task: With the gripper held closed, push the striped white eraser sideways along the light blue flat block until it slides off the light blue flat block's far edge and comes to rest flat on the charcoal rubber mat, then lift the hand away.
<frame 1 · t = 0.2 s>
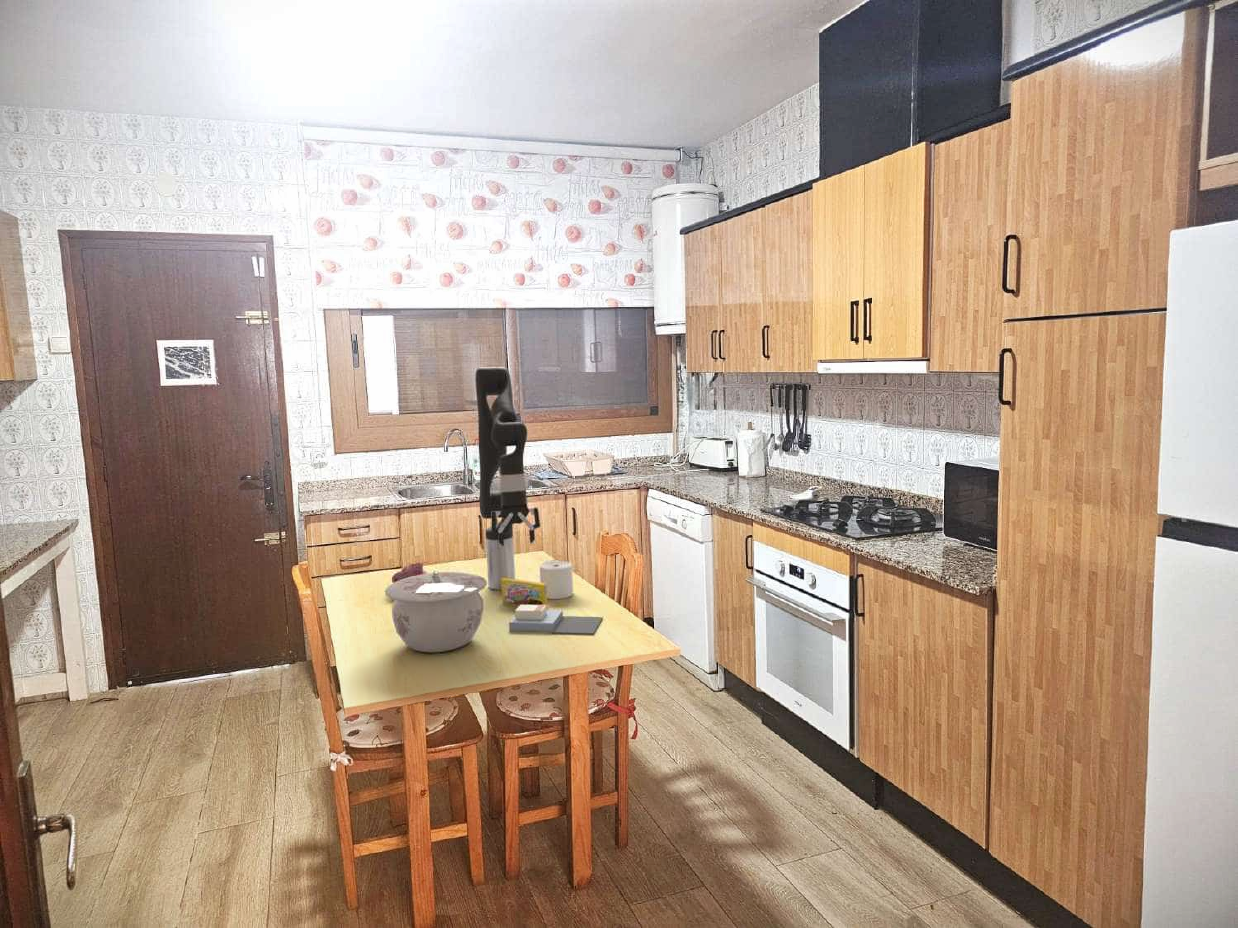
hand: (517, 544, 240), 23 cm above the table, tool pointing down, fingers open, 8 cm apart
mat: (578, 625, 235), on the table
striped white eraser: (531, 615, 237), point 2 cm above the table, touching light blue flat block
flower: (414, 593, 274), on the table
chamber pot: (440, 644, 223), on the table
candy box: (524, 606, 255), on the table
light blue flat block: (536, 624, 237), on the table
toilet tissue: (555, 594, 267), on the table
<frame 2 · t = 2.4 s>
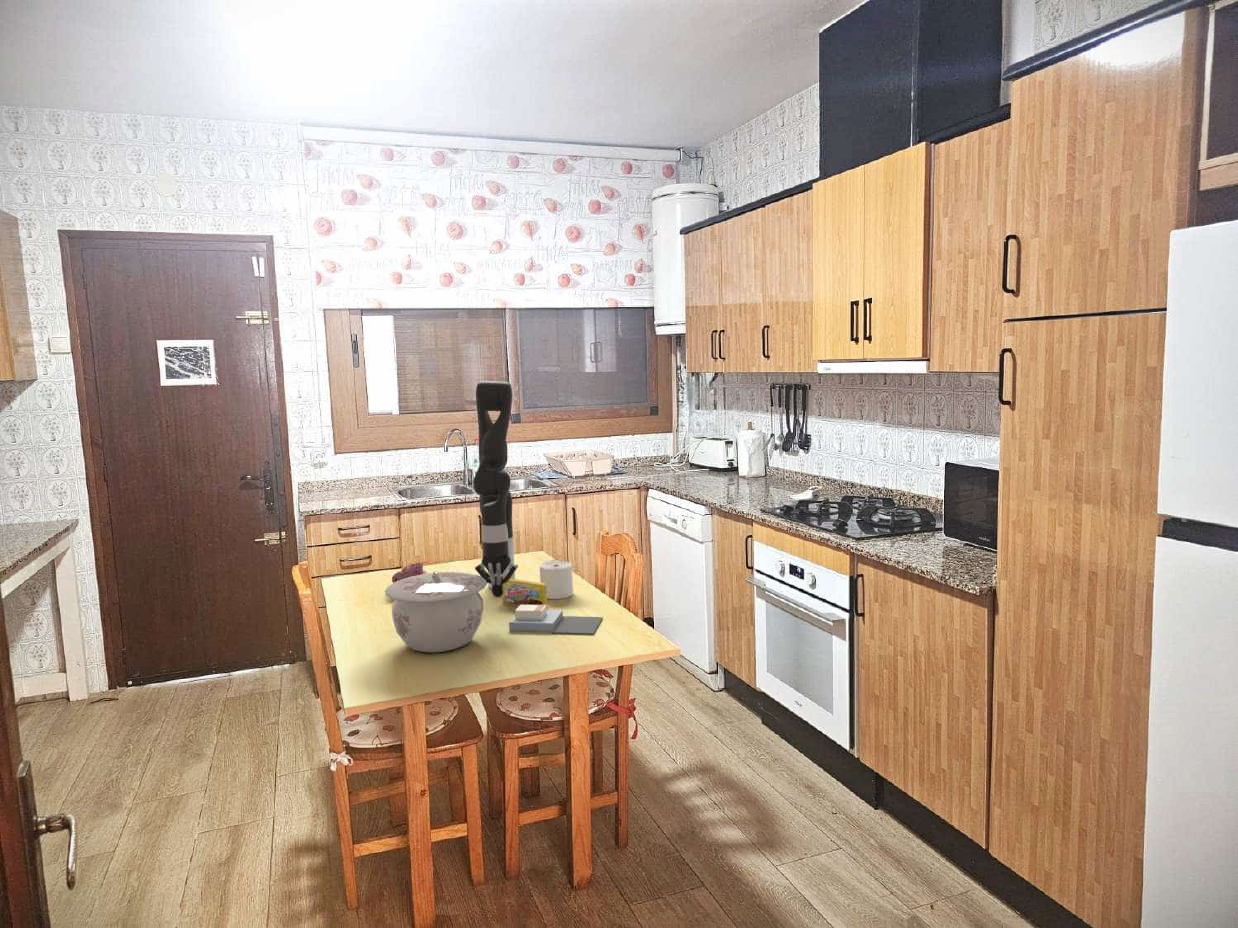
hand: (498, 596, 238), 8 cm above the table, tool pointing down, fingers closed
nothing on the table moved.
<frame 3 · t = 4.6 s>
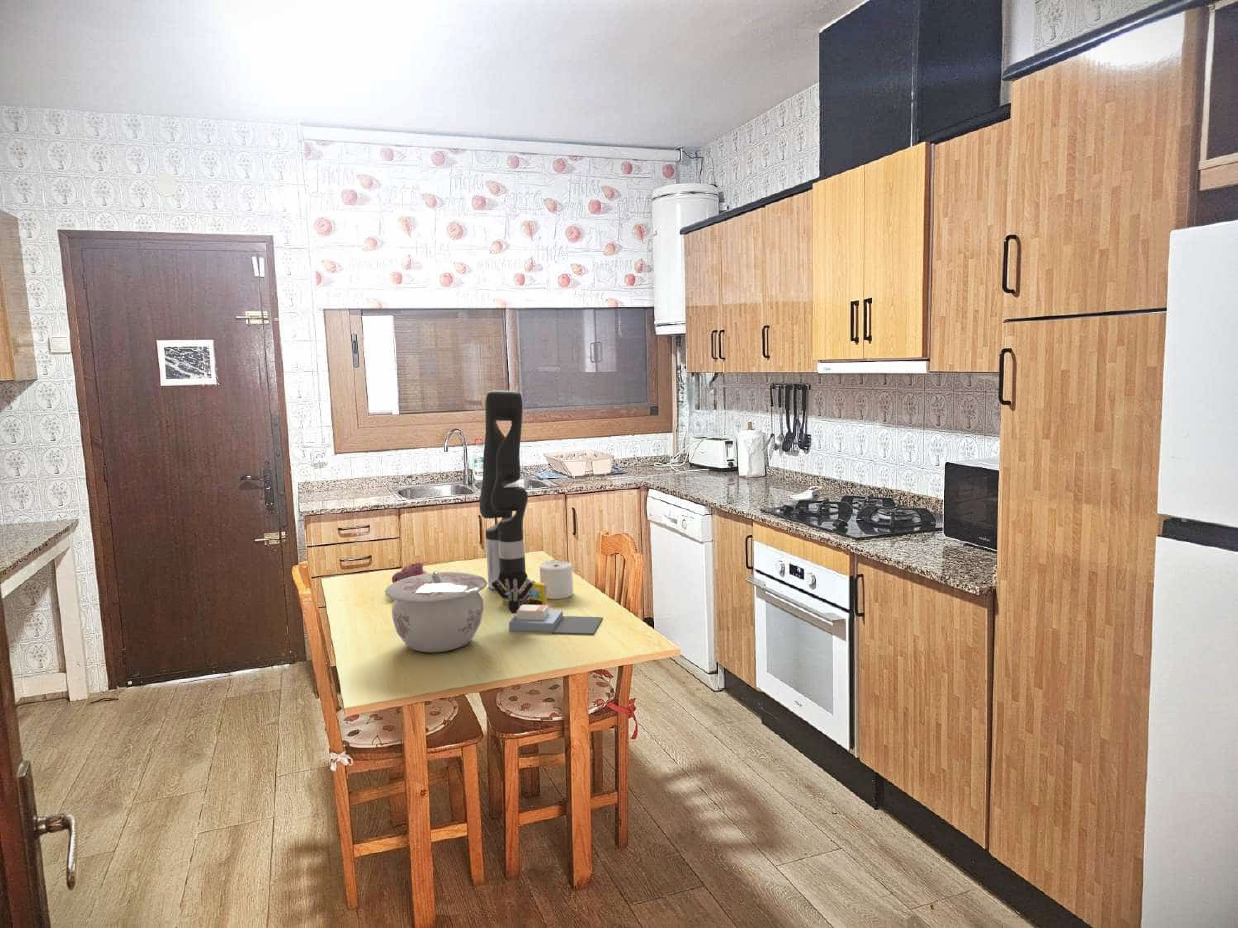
hand: (514, 612, 238), 4 cm above the table, tool pointing down, fingers closed
striped white eraser: (533, 615, 237), point 3 cm above the table, touching gripper
everything else where it was.
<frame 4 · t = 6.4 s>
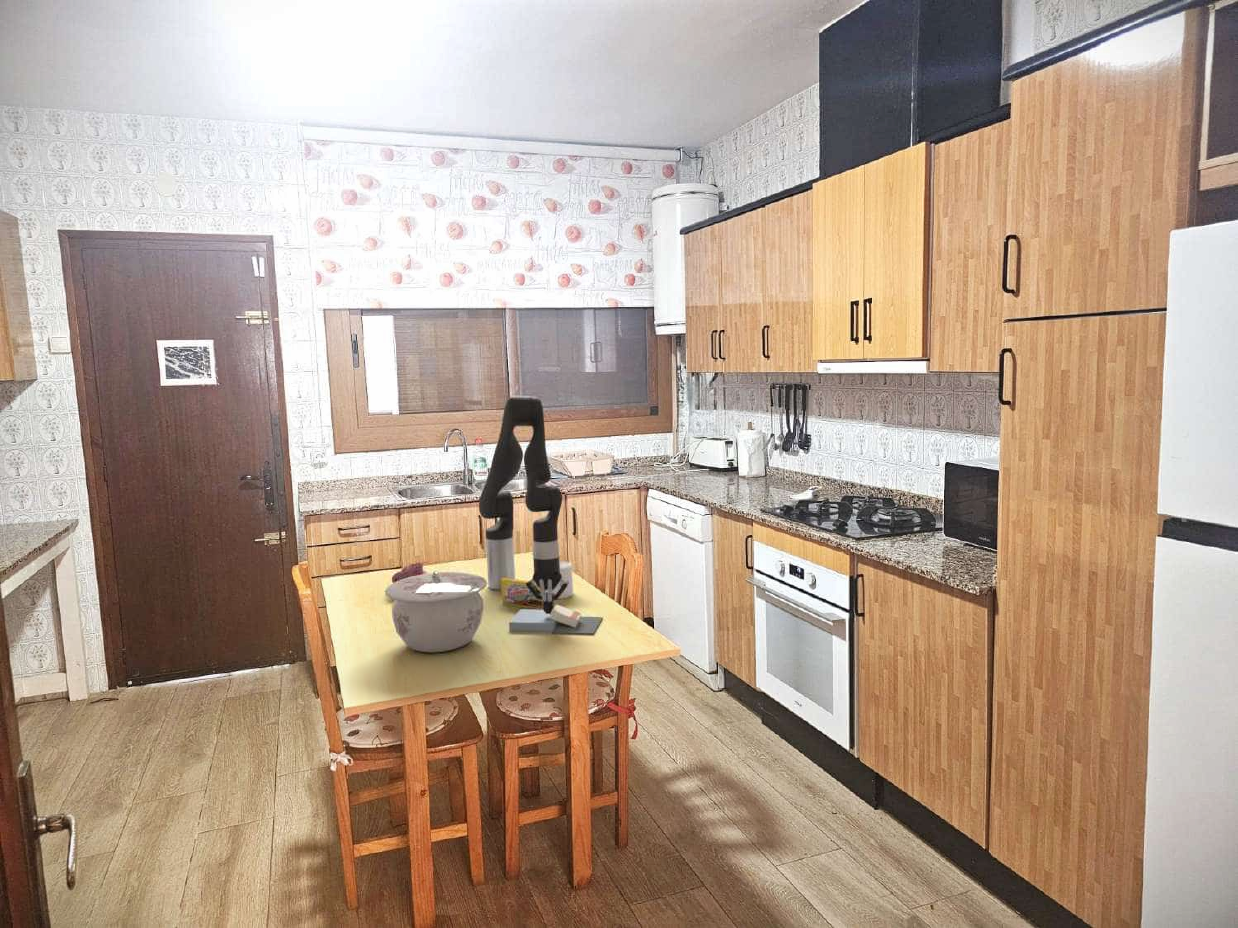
hand: (548, 612, 236), 4 cm above the table, tool pointing down, fingers closed
striped white eraser: (564, 619, 235), point 2 cm above the table, tilted 19°, touching gripper
everything else where it was.
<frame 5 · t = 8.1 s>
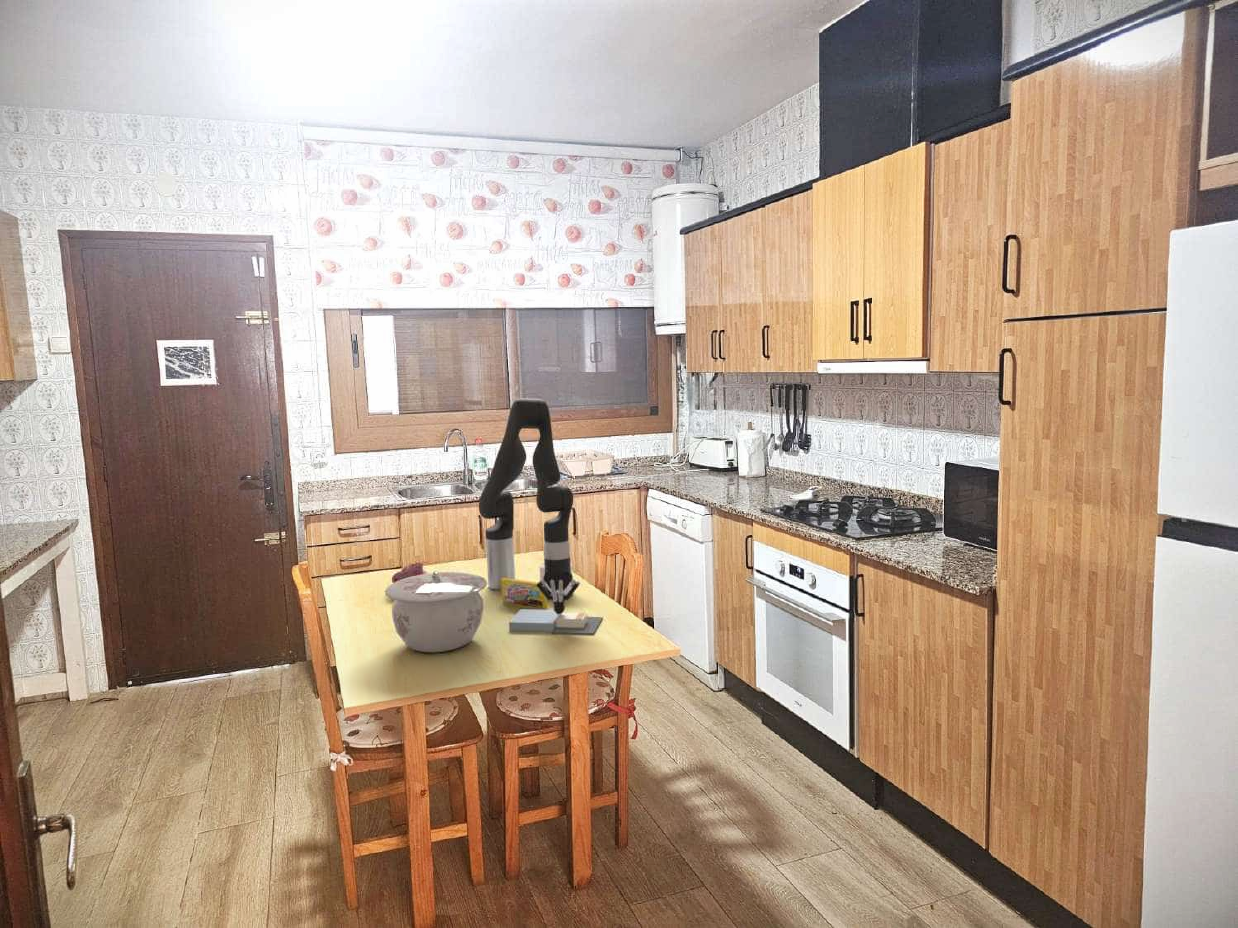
hand: (559, 613, 236), 4 cm above the table, tool pointing down, fingers closed
striped white eraser: (571, 624, 235), resting on mat
everything else where it was.
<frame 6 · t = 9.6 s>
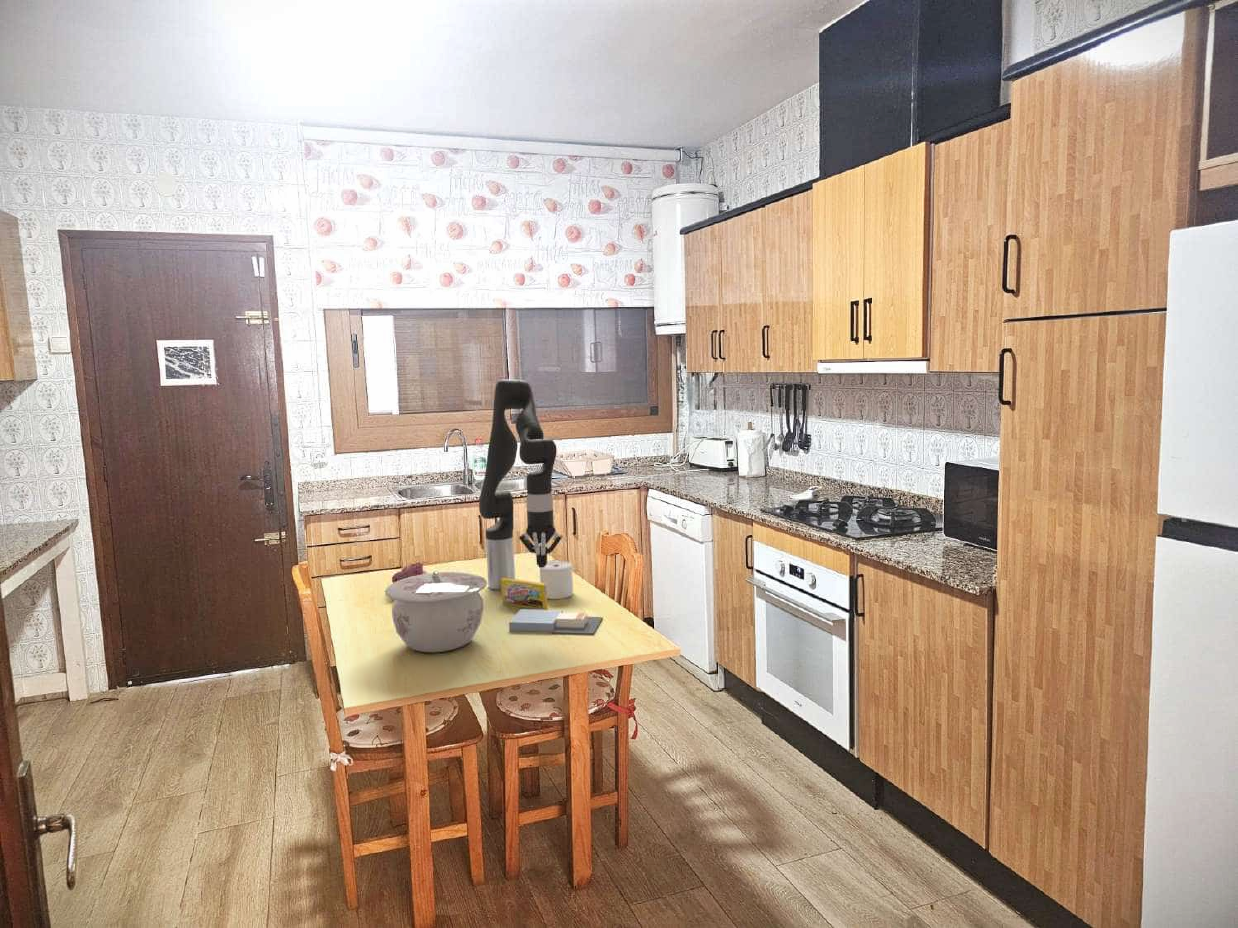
hand: (542, 566, 234), 17 cm above the table, tool pointing down, fingers closed
nothing on the table moved.
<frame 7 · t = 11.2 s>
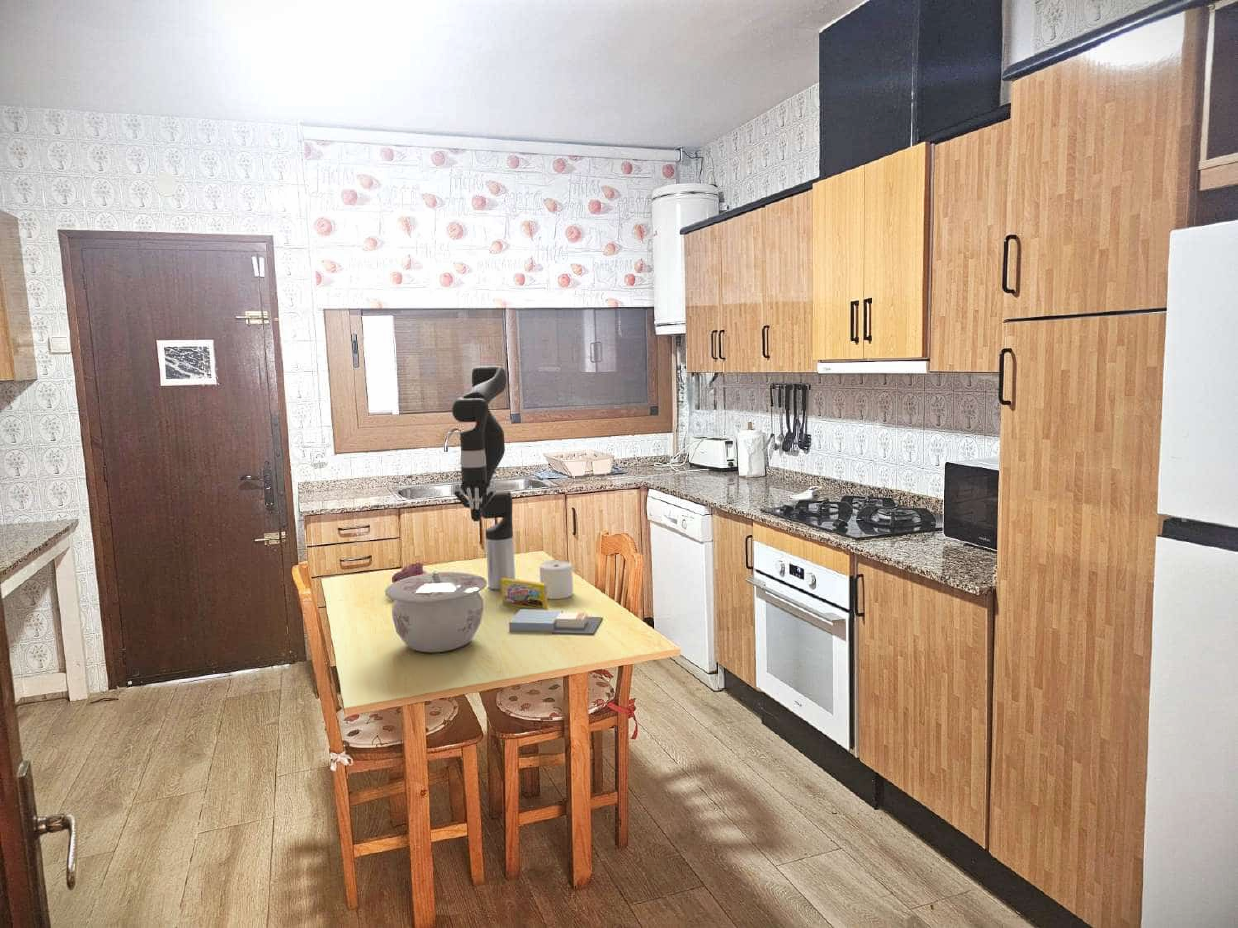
hand: (476, 520, 246), 29 cm above the table, tool pointing down, fingers closed
nothing on the table moved.
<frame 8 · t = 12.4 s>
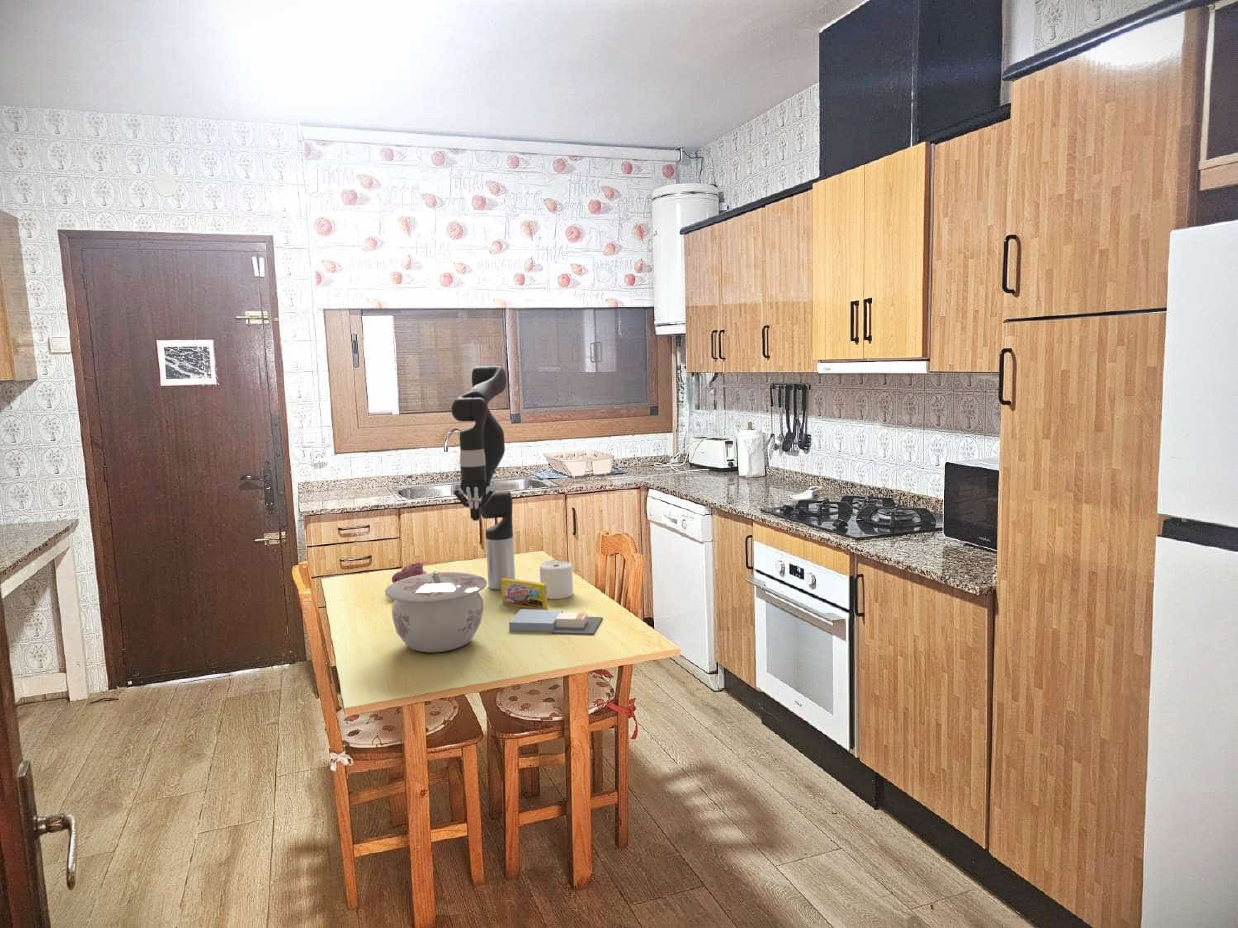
hand: (475, 520, 246), 29 cm above the table, tool pointing down, fingers closed
nothing on the table moved.
at the end: striped white eraser point 0.5 cm above the table; striped white eraser inside the target area on the mat (1.8 cm from its centre), point 0.5 cm above the mat's base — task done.
